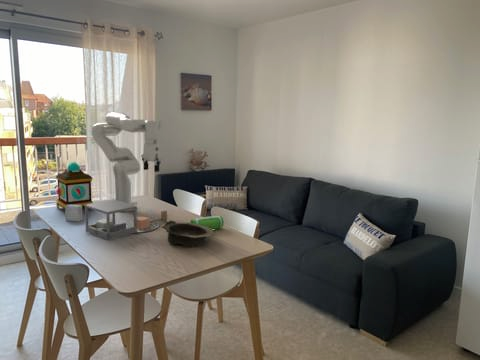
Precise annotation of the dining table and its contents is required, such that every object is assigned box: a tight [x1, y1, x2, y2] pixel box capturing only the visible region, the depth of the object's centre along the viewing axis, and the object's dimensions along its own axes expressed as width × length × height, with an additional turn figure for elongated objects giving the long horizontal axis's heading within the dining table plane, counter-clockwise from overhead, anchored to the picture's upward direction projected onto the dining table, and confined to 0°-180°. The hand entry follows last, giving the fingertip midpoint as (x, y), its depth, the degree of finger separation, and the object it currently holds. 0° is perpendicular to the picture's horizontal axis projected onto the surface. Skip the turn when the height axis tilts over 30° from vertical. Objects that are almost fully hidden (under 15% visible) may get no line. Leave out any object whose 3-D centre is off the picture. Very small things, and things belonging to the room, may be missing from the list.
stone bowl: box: [161, 220, 214, 248], centre depth 180 cm, size 25×25×9 cm
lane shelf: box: [84, 199, 138, 241], centre depth 190 cm, size 17×20×14 cm
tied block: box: [137, 210, 168, 230], centre depth 206 cm, size 20×6×6 cm, turn 143°
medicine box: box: [64, 205, 83, 223], centre depth 207 cm, size 8×4×9 cm, turn 84°
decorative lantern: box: [55, 161, 94, 210], centre depth 228 cm, size 20×20×30 cm
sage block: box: [95, 218, 113, 229], centre depth 193 cm, size 6×6×5 cm
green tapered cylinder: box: [189, 215, 224, 230], centre depth 199 cm, size 18×7×8 cm, turn 121°
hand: (151, 170), depth 216 cm, fingers open, 9 cm apart
